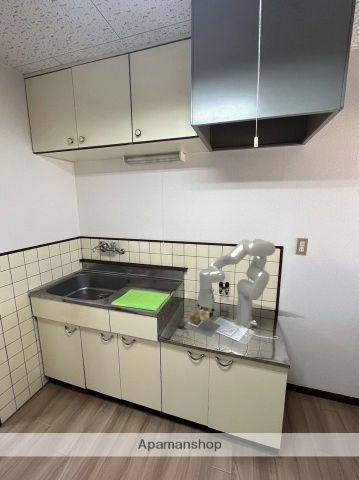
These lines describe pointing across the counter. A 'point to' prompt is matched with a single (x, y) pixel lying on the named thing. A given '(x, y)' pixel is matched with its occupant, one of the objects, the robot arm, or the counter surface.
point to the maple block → (205, 314)
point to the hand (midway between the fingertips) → (206, 315)
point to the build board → (203, 327)
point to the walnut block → (195, 318)
